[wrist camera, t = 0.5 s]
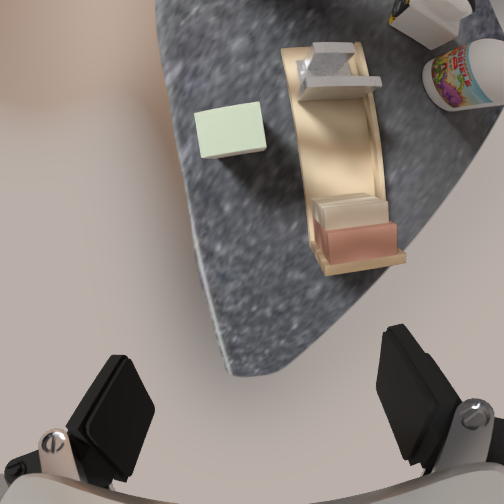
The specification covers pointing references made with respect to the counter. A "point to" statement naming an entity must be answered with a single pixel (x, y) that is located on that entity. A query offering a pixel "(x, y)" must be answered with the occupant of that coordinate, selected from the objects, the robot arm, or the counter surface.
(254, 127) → the pale green block
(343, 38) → the counter surface
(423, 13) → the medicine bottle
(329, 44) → the bookend
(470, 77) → the milk bottle
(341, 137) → the panel
